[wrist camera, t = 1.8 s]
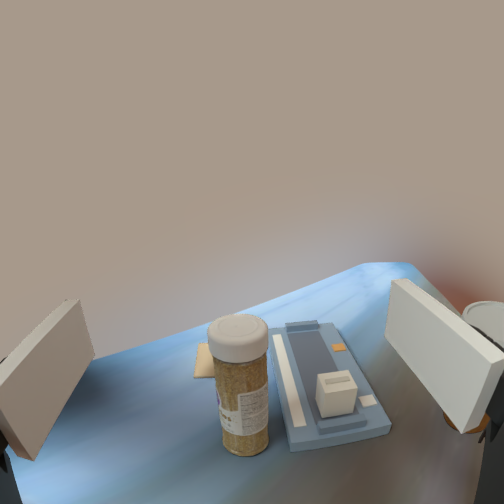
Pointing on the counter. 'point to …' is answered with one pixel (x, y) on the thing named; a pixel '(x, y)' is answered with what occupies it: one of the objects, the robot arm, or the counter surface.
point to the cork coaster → (204, 362)
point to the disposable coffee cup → (491, 323)
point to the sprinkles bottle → (241, 381)
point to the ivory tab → (335, 393)
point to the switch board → (305, 382)
